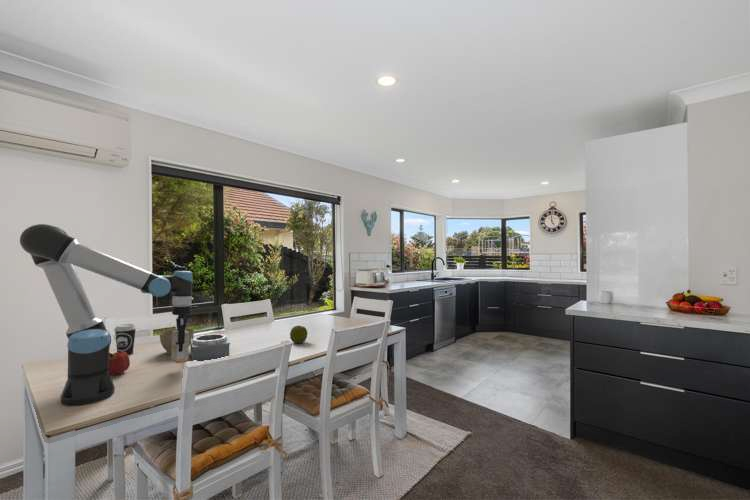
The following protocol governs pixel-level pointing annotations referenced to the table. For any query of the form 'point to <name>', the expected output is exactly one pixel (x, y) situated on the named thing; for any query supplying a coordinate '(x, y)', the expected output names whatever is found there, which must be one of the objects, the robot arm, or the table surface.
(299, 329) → the olive green ball
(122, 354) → the vegetable
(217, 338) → the housing
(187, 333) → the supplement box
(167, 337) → the planter bowl
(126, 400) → the table surface
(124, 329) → the coffee cup
